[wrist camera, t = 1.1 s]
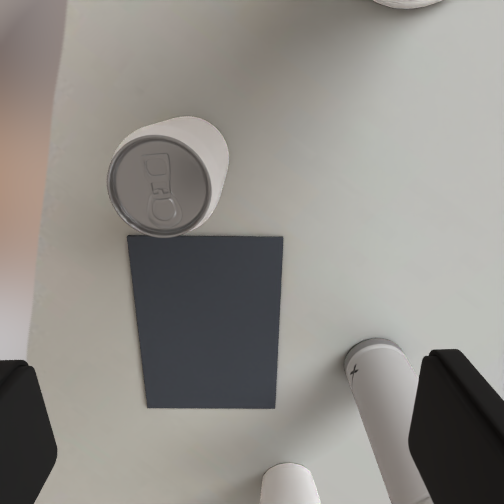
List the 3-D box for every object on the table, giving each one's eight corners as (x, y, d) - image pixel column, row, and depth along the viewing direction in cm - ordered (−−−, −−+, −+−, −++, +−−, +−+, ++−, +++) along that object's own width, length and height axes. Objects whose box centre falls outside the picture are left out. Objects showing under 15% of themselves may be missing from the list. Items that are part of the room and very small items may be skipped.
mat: (128, 235, 34) (126, 236, 33) (283, 236, 34) (283, 238, 34) (148, 405, 41) (147, 408, 41) (274, 406, 42) (275, 408, 41)
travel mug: (329, 358, 39) (401, 590, 21) (385, 326, 38) (516, 545, 19) (359, 395, 41) (449, 638, 23) (413, 366, 40) (557, 601, 21)
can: (159, 197, 33) (113, 249, 21) (145, 118, 30) (85, 131, 19) (233, 191, 32) (225, 240, 21) (225, 112, 30) (212, 120, 19)
